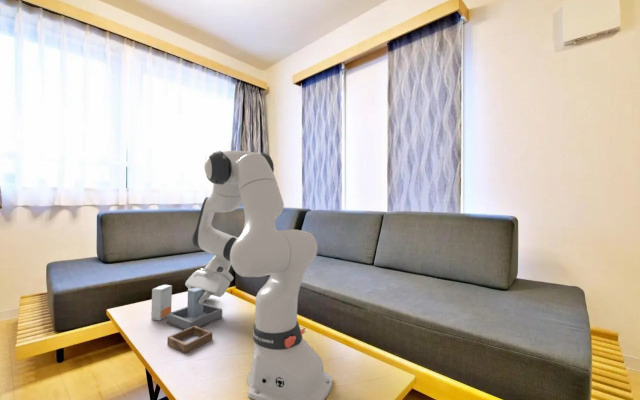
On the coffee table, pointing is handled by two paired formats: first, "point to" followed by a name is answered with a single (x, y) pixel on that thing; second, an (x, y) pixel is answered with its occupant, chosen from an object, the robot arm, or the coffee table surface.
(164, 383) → the coffee table surface
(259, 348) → the robot arm
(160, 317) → the skincare box
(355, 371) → the coffee table surface
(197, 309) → the slate block
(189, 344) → the walnut holder
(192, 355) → the coffee table surface
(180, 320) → the charcoal tray
